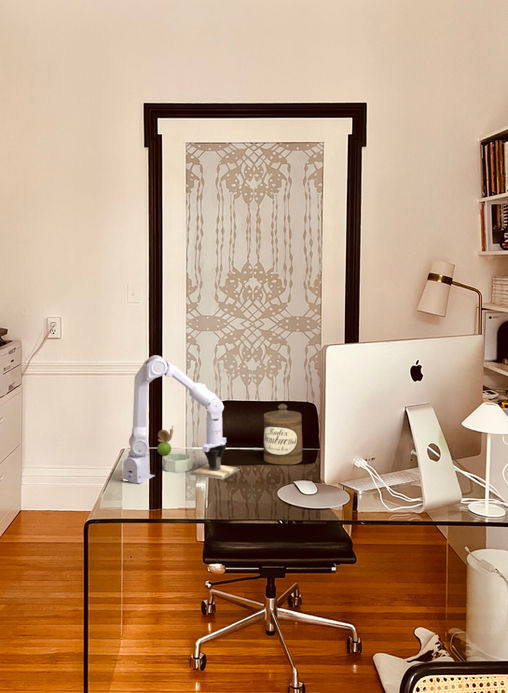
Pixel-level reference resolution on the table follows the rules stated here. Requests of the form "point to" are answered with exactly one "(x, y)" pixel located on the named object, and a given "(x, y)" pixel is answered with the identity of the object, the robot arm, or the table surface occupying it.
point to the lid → (215, 470)
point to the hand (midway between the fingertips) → (214, 466)
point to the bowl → (177, 462)
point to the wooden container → (283, 436)
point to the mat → (215, 477)
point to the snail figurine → (164, 442)
